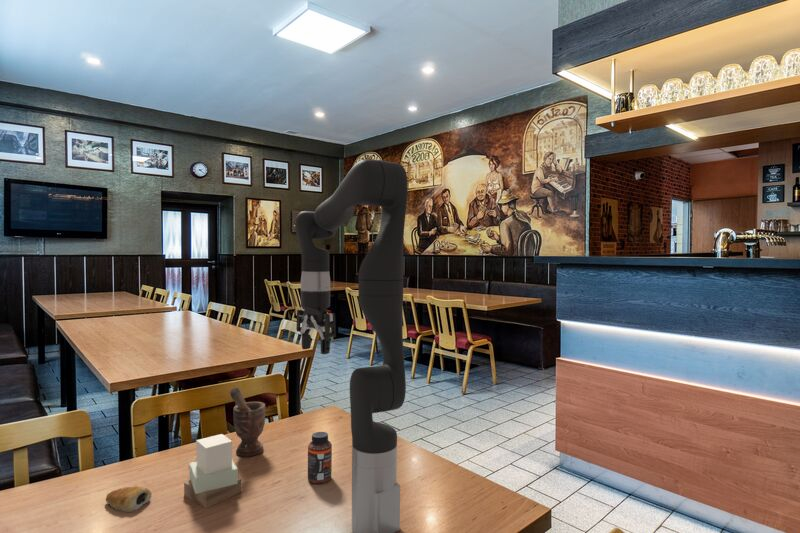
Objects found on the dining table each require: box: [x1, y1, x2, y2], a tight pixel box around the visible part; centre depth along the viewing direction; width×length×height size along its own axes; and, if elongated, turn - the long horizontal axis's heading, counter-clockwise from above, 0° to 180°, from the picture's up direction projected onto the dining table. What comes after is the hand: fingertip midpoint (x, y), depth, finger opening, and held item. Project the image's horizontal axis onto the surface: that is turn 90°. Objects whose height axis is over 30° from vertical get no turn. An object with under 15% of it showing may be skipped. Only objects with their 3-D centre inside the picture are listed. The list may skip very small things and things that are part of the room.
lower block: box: [183, 477, 242, 509], centre depth 109 cm, size 9×9×4 cm
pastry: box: [105, 485, 153, 513], centre depth 105 cm, size 9×7×4 cm
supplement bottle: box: [307, 431, 333, 485], centre depth 117 cm, size 6×6×11 cm
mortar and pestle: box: [229, 387, 266, 458], centre depth 131 cm, size 12×9×20 cm
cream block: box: [195, 433, 233, 474], centre depth 109 cm, size 6×6×6 cm
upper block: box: [188, 459, 239, 494], centre depth 109 cm, size 9×9×4 cm
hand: (315, 351), depth 121 cm, fingers open, 8 cm apart
